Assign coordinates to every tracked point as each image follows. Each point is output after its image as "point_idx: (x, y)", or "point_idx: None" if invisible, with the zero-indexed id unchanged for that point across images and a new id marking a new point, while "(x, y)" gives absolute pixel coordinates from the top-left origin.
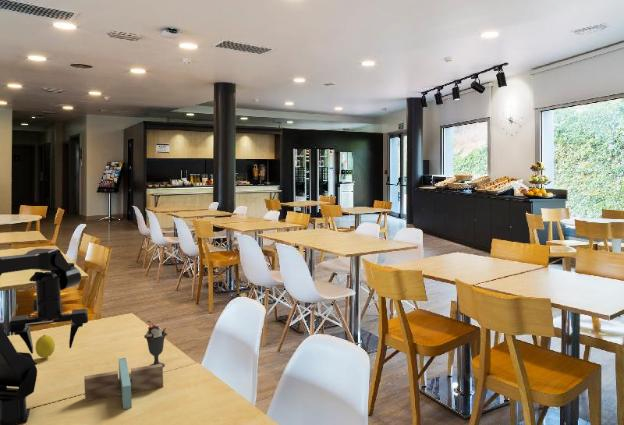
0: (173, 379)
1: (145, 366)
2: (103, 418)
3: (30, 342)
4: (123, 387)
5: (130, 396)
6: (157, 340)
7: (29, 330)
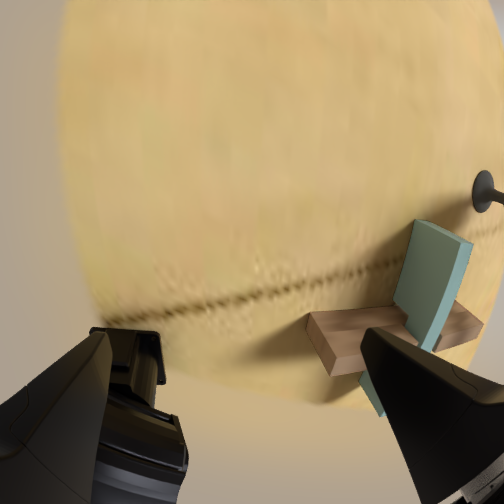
0: (470, 284)
1: (463, 331)
2: (317, 401)
3: (94, 456)
4: (380, 415)
5: None
6: None
7: (24, 498)
